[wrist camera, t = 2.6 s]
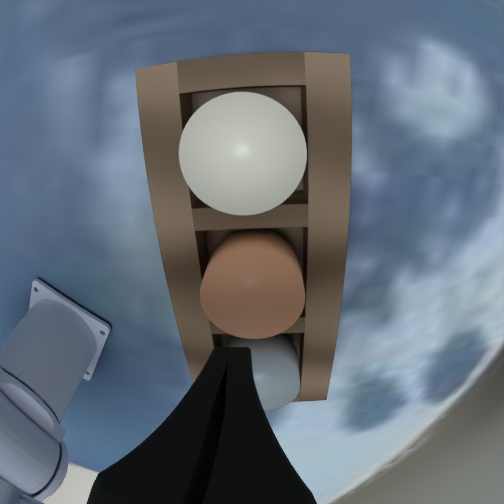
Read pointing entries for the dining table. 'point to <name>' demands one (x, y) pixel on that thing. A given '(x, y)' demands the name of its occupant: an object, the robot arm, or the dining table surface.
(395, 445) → the dining table surface
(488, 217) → the dining table surface
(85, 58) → the dining table surface
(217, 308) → the terracotta button
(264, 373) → the slate button
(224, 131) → the cream button
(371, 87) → the dining table surface
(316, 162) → the button board
